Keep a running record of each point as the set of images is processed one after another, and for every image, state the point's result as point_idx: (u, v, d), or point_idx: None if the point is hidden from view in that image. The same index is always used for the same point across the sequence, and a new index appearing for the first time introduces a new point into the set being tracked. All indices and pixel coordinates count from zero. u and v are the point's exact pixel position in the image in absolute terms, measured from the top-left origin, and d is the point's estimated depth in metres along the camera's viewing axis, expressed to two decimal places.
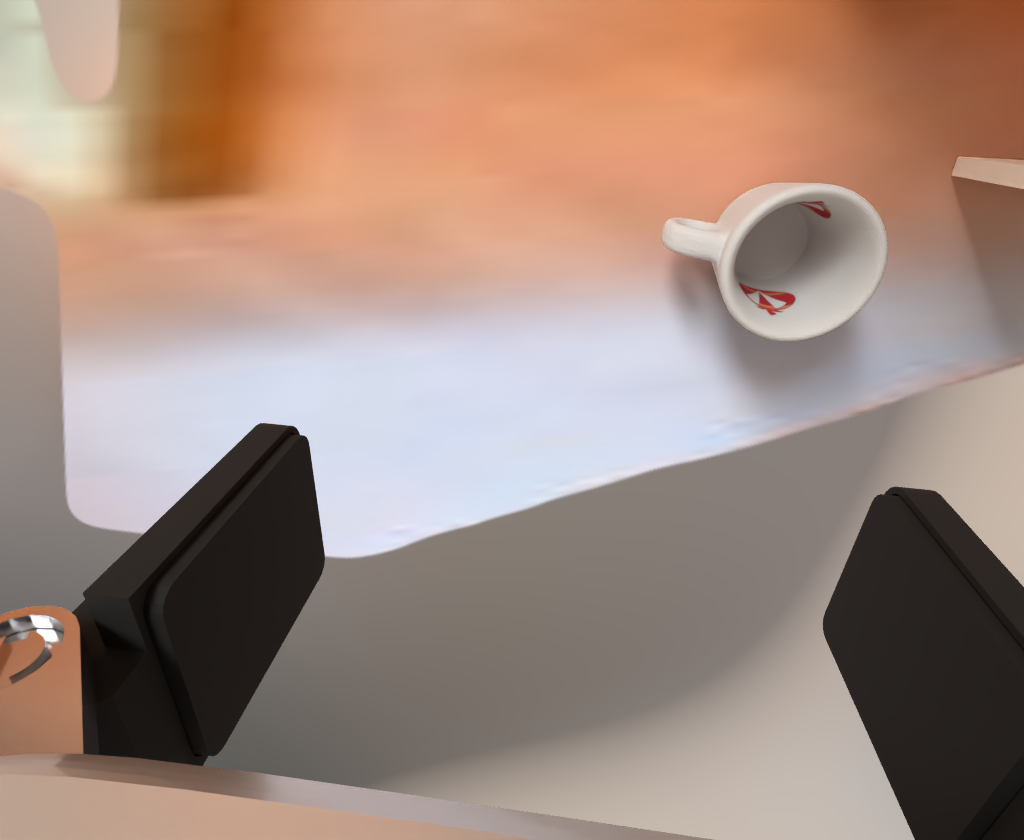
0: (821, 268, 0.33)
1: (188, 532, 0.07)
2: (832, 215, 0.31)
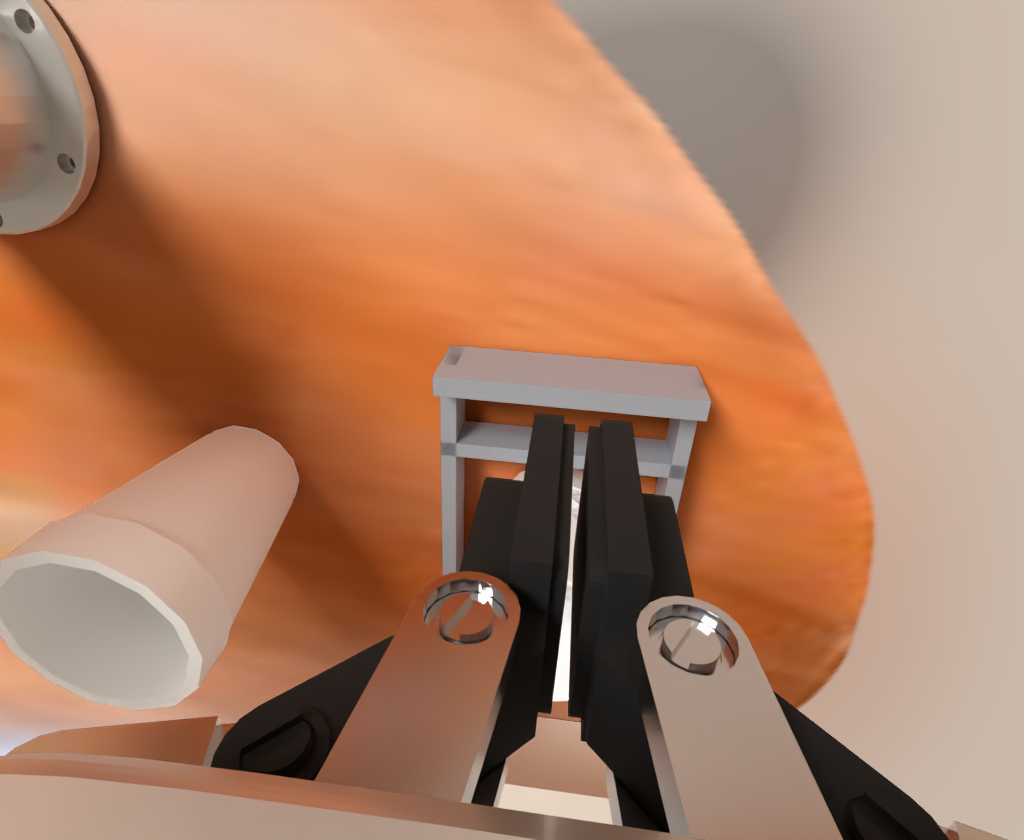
0: None
1: (556, 508, 0.08)
2: None
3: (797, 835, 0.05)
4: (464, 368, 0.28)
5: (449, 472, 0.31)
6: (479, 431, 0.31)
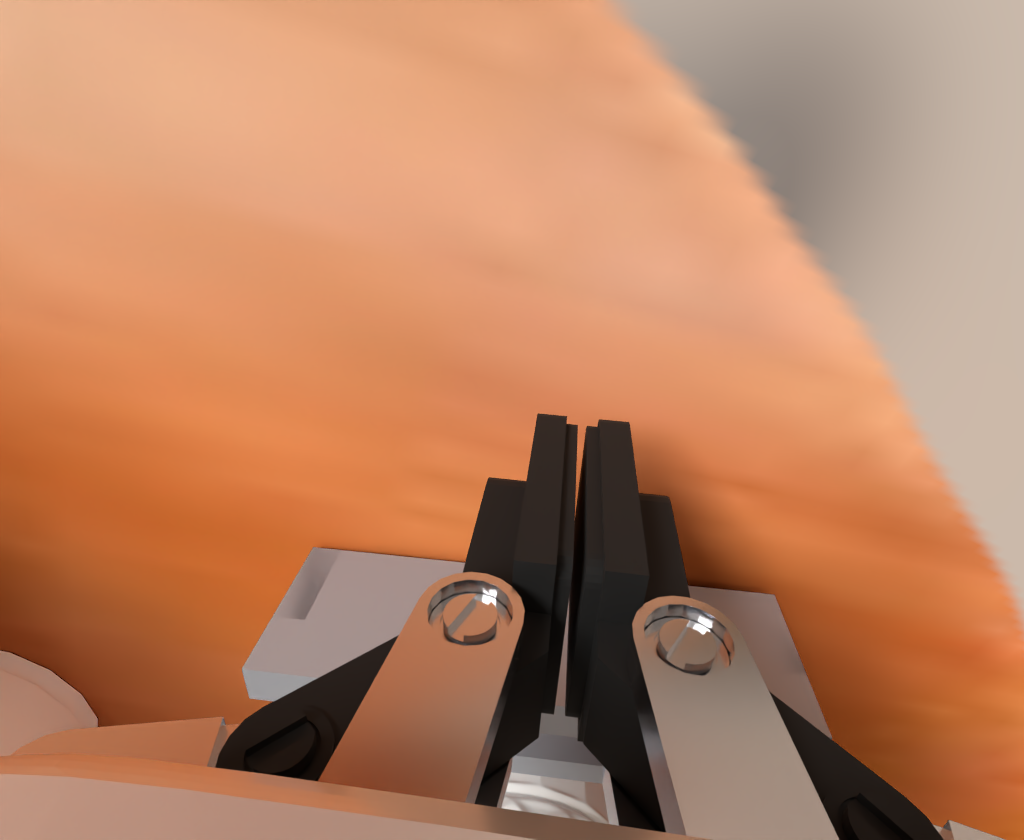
0: None
1: (559, 509, 0.08)
2: None
3: (791, 835, 0.05)
4: (319, 629, 0.14)
5: None
6: None
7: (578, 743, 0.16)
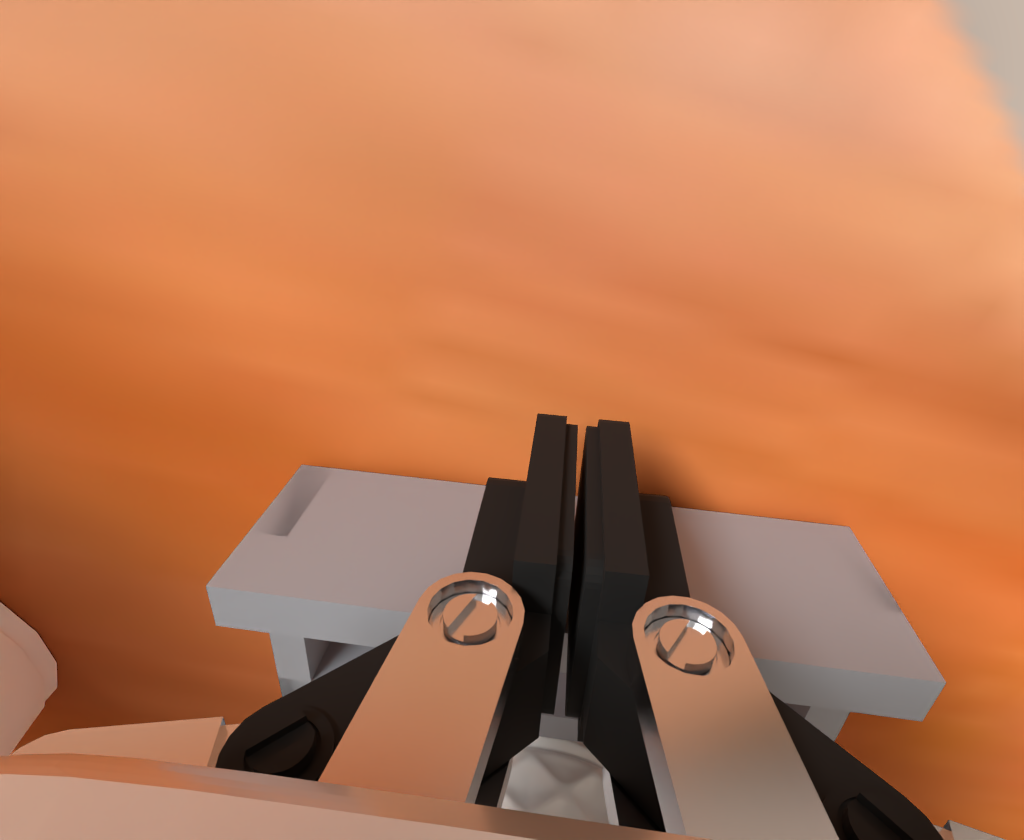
0: None
1: (559, 509, 0.08)
2: None
3: (791, 835, 0.05)
4: (304, 547, 0.11)
5: None
6: None
7: None
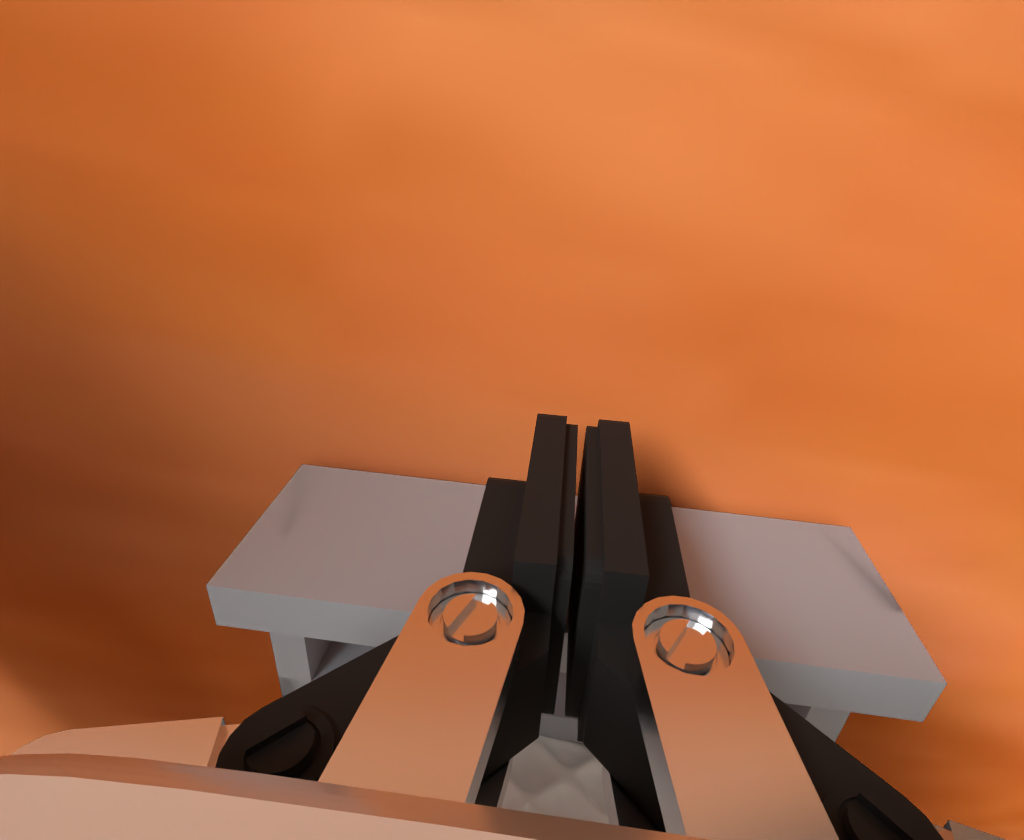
0: None
1: (559, 509, 0.08)
2: None
3: (791, 835, 0.05)
4: (304, 546, 0.11)
5: None
6: None
7: None
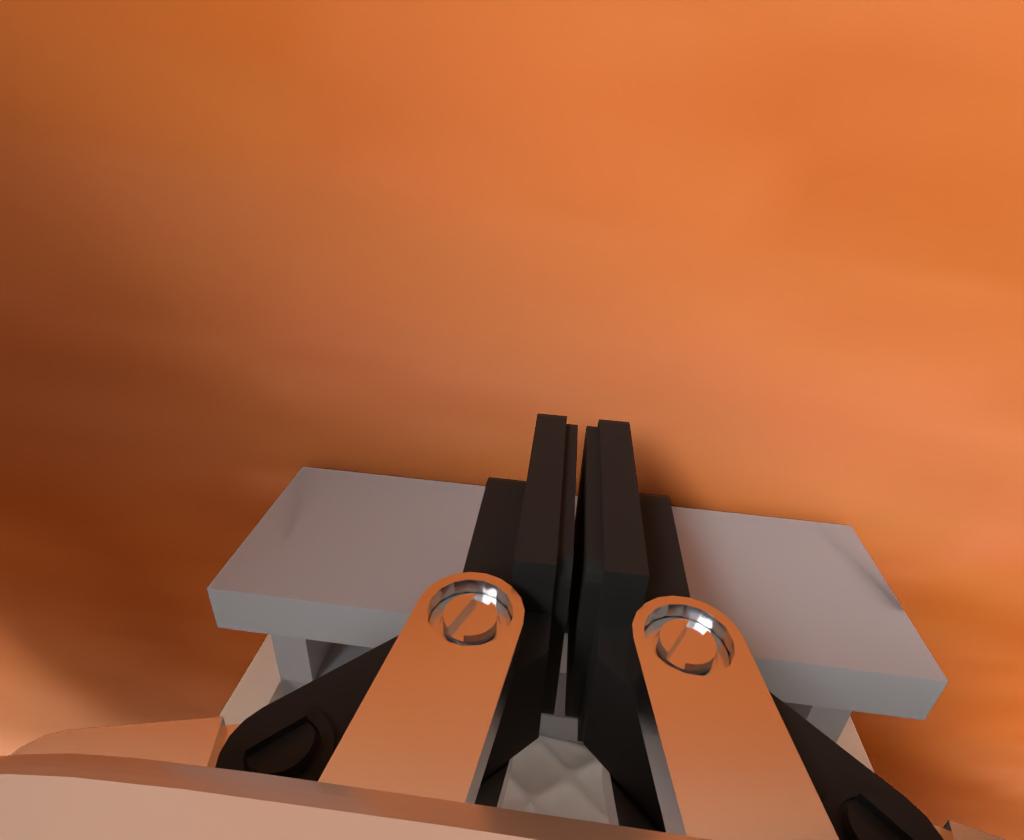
0: None
1: (559, 509, 0.08)
2: None
3: (791, 835, 0.05)
4: (304, 548, 0.11)
5: None
6: None
7: None
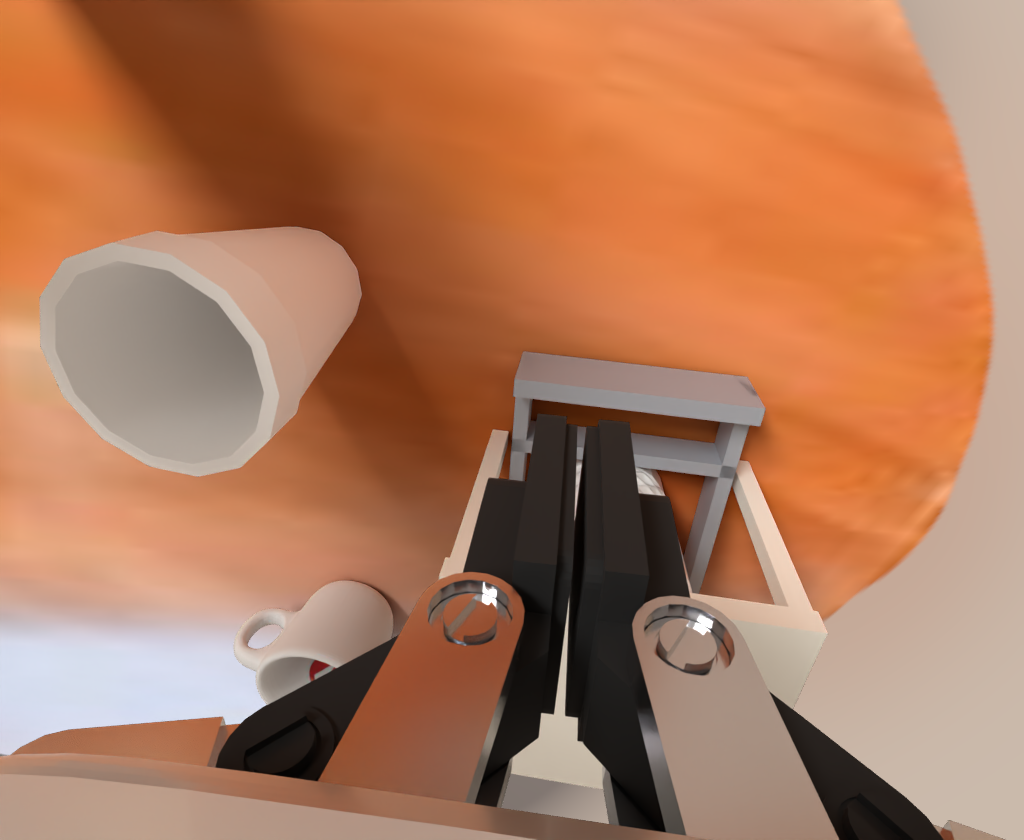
0: None
1: (559, 509, 0.08)
2: None
3: (791, 835, 0.05)
4: (540, 372, 0.31)
5: (517, 467, 0.34)
6: None
7: (649, 451, 0.33)
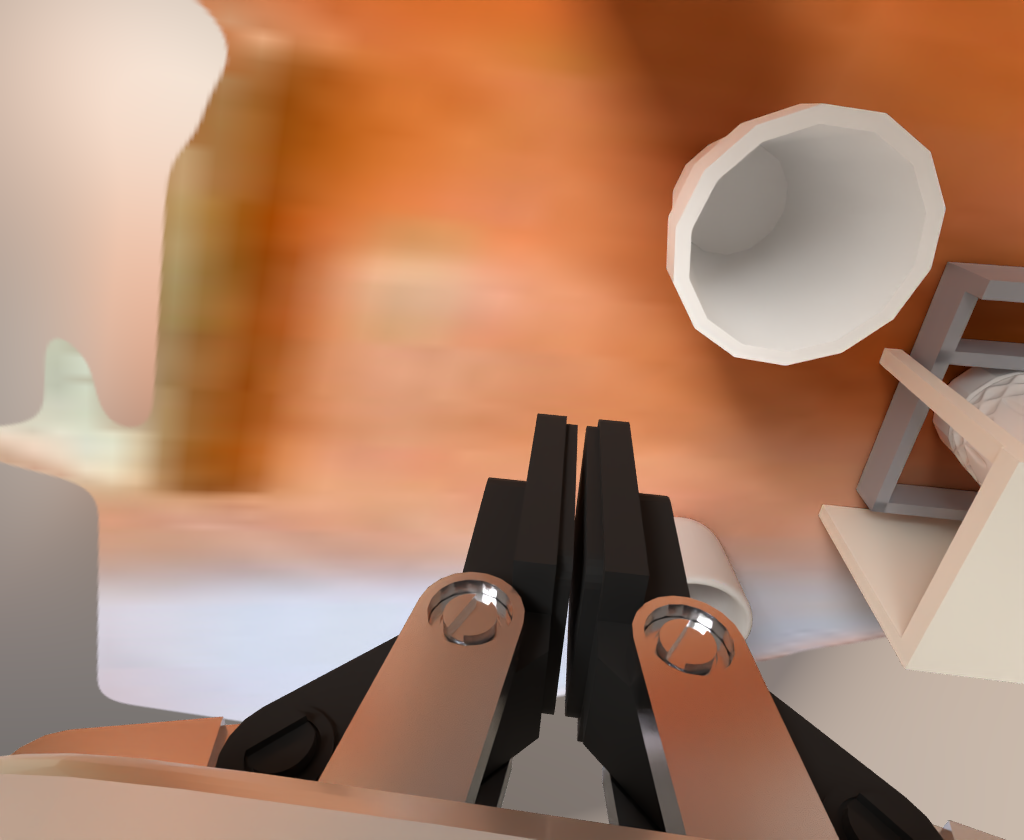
0: (714, 591, 0.42)
1: (559, 509, 0.08)
2: None
3: (791, 835, 0.05)
4: (1001, 275, 0.31)
5: None
6: (958, 343, 0.34)
7: None
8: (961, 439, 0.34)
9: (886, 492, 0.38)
